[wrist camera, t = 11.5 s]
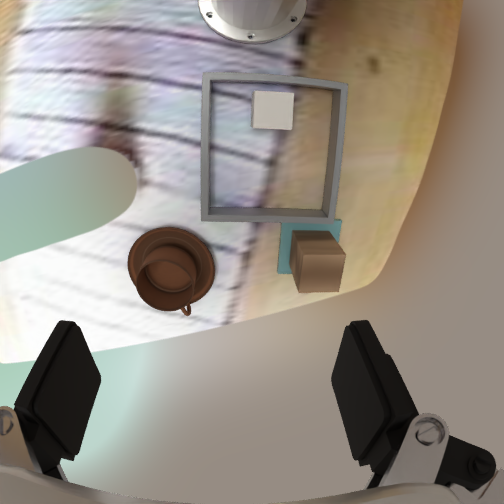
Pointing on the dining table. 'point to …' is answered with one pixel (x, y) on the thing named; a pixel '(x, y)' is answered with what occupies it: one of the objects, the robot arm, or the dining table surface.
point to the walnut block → (316, 261)
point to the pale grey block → (272, 110)
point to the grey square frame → (332, 162)
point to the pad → (287, 236)
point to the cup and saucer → (170, 269)
